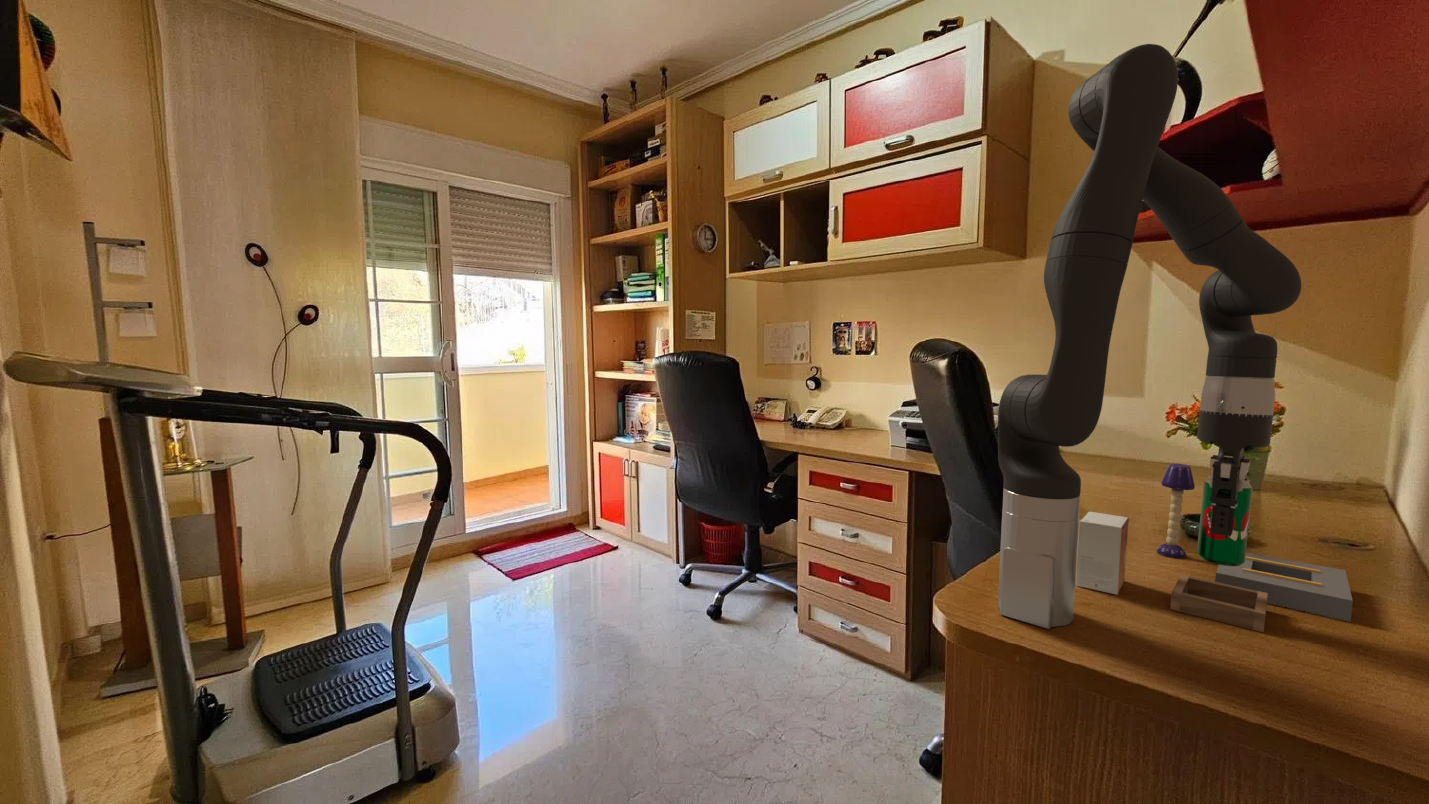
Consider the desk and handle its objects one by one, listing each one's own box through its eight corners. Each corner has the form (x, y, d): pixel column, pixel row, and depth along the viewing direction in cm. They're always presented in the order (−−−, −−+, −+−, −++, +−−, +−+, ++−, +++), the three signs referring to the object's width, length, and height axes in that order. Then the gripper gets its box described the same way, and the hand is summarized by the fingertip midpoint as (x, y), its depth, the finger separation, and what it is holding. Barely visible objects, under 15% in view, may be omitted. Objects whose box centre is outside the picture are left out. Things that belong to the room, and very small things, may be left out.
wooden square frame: (1263, 632, 75) (1265, 614, 74) (1170, 609, 81) (1171, 592, 81) (1266, 610, 81) (1267, 592, 81) (1179, 590, 88) (1180, 574, 88)
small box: (1117, 596, 86) (1122, 527, 85) (1074, 586, 89) (1078, 520, 89) (1125, 581, 92) (1129, 516, 91) (1084, 572, 95) (1088, 510, 95)
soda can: (1225, 556, 83) (1233, 474, 82) (1254, 569, 78) (1263, 482, 77) (1187, 553, 83) (1195, 472, 82) (1214, 566, 78) (1223, 479, 77)
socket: (1350, 622, 78) (1352, 598, 77) (1214, 591, 88) (1216, 570, 87) (1343, 589, 89) (1345, 568, 89) (1223, 565, 99) (1225, 546, 99)
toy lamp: (1195, 558, 102) (1202, 466, 101) (1177, 561, 101) (1184, 467, 99) (1166, 549, 107) (1173, 461, 105) (1149, 552, 105) (1155, 462, 104)
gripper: (1271, 414, 71) (1257, 548, 72) (1275, 410, 81) (1262, 527, 83) (1193, 409, 77) (1181, 533, 78) (1205, 406, 87) (1194, 516, 88)
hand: (1223, 529), depth 80 cm, fingers closed on soda can, 5 cm apart
